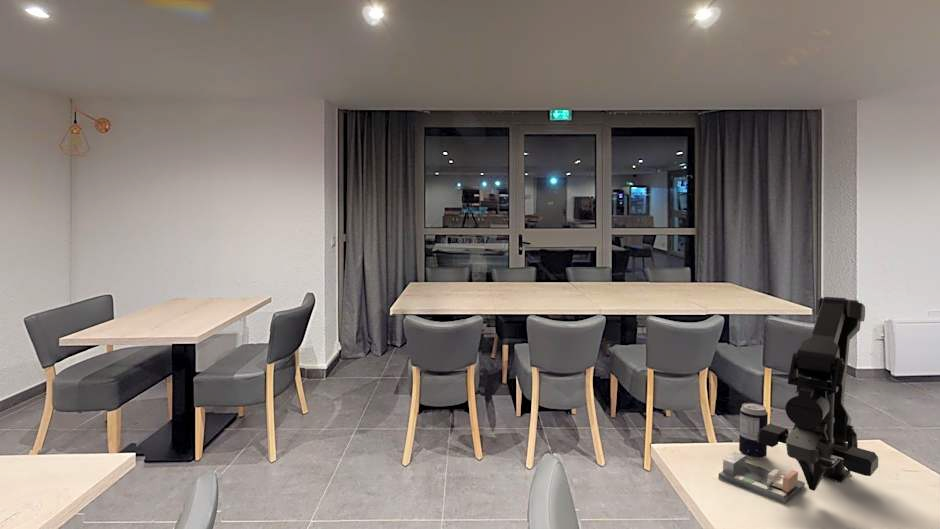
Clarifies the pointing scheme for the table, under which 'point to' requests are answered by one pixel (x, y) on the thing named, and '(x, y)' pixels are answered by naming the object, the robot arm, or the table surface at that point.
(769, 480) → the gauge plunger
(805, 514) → the table surface
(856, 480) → the table surface
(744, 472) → the frame
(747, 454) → the beverage can
